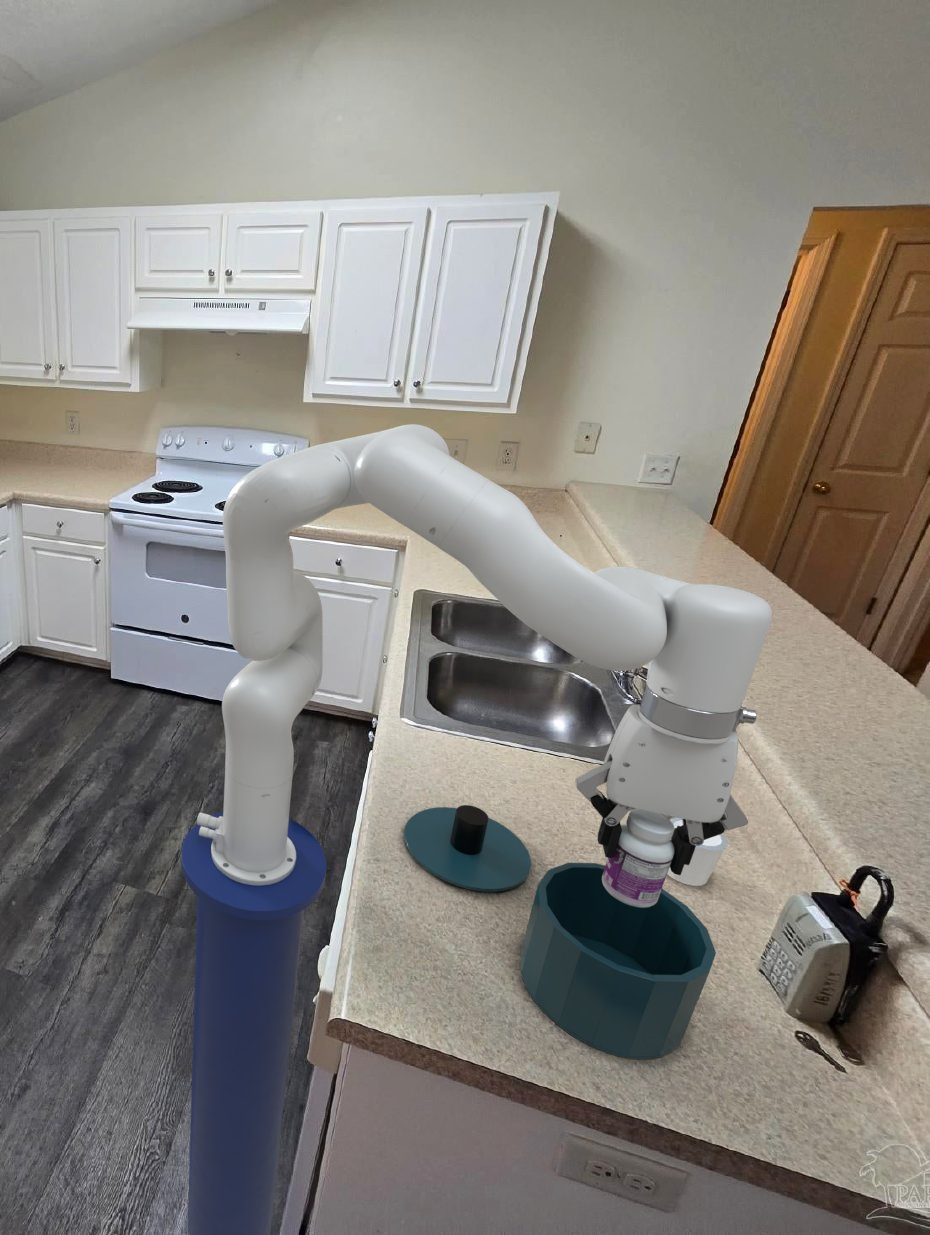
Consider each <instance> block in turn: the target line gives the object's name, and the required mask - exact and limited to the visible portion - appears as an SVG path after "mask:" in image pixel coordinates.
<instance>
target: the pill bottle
mask: <svg viewBox="0 0 930 1235" xmlns="http://www.w3.org/2000/svg"><path fill="white" fill-rule="evenodd" d="M620 825H621V828H622V833H621V836H620V839H619V842H618V846H617V849H616V852H615V855H614V858H613V857H612V858H607V857H606V862H605V864H604V865H605V869H604V872H603V876H602V883H603V886H604V887H605V889H606V890H607V891H608V892H609V894H611V895H612V896H613V897H614V898H616V899H617V900H619V901H621V902H623V903H625V904H628V905H631V906H635V907H650V906H653V905H654V904H656V903H657V901H658V898H659V895H660V893H661V890H662V889H663V886H664V884H665V881H666V878H667V876H668V875H667V873H668V870H669V867H670V865H671V862H672V859H673V856H674V846H673V843H672V842H671V840H670V839H671V838H672V834H673V831H674V826H673V824H672V822H671V821H670V819H668V818H666V817H665V816H663V815H661V814H659V813H654V812H650V811H645V810H641V809H631V810H630V811H629V812H628V816H627V819H626V822H625V823H623V824H620Z"/></svg>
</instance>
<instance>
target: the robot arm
mask: <svg viewBox="0 0 930 1235" xmlns="http://www.w3.org/2000/svg"><path fill="white" fill-rule="evenodd" d="M366 504H370V505H371V506H373V507H374V508H376V509H377V510H379V511H380V512H382V513H384V514H385V515H387V516H388V517H390V518H391V519H393V520H394V521H396V522H397V523H399V524H401V525H402V526H404V527H406V528H407V529H408V530H410V531H412V532H413V533H415V534H416V535H418V536H420V537H421V538H423V539H424V540H426V541H428V542H429V543H431V544H432V545H434V547H437V548H438V549H439V550H441V551H443V552H444V553H445V554H447V555H449V556H450V557H452V558H453V559H455V561H457V562H459V563H461V564H462V565H463V566H464V567H466V568H467V569H468V571H469V572H470V573H471V574H472V575H473V576H474V577H475V579H476V581H478V582H479V583H480V584H481V585H482V586H483V588H485V589H486V590H487V591H488V592H489V593H490V594H491V595H492V596H493V597H495V599H497V601H498V602H500V604H502V605H503V606H504V607H505V608H506V609H507V610H508V611H509V612H510V613H511V614H512V615H513V616H515V617H516V618H517V619H518V620H519V621H520V622H522V623H523V624H524V625H526V626H527V627H529V628H530V629H531V630H533V631H535V632H536V633H537V634H539V635H541V636H542V637H543V638H545V639H546V640H547V641H550V642H551V643H552V644H554V645H555V646H557V647H559V649H562V650H563V651H565V652H566V653H568V654H570V655H571V656H573V657H575V658H576V659H578V660H580V661H581V662H584V663H586V664H588V665H590V666H593V667H595V668H598V669H601V670H605V671H606V670H607V671H610V672H611V671H612V672H626V671H627V672H628V671H633V670H636V669H640V668H641V667H644V666H646V665H649V662H651V661H652V660H653V663H652V666H651V669H650V673H649V676H648V680H647V679H646V682H647V683H645V687H644V690H643V692H642V696H641V700H640V703H639V704H632V705H630V706H629V707H628V708H627V710H626V712H625V713H624V715H623V717H622V718H621V720H620V722H619V724H618V726H617V728H616V731H615V733H614V735H613V737H612V739H611V741H610V744H609V747H608V749H607V752H606V754H605V756H604V759H603V763H602V764H601V765H599V766H597V767H595V768H593V769H591V770H589V771H587V772H585V773H583V774H582V775H580V776H577V777H576V778H575V780H574V782H575V787H576V789H577V790H578V792H580V793H581V795H583V797H584V798H585V799H586V800H588V801H589V802H590V803H591V806H592V807H593V808H594V809H595V810H596V811H597V813H598V814H599V815H600V816H601V822H600V825H599V829H598V832H597V843H598V845H602V849H603V853H604V856H605V858H606V859H607V858H612V857H613V858H614V855H615V852H616V849H617V846H618V842H619V839H620V836H621V833H622V828H621V825H622V824H621V821H622V820H623V819H624V818H625V817H626V815H627V814H629V813H630V811H631V810H632V809H631V808H637V809H641V810H645V811H650V812H654V813H659V814H663V815H668V816H669V817H672V818H675V817H677V818H682V822H683V825H682V826H677V828H675V829H674V832H673V835H672V838H671V842H672V843H673V846H674V856H673V859H672V862H671V865H670V869H671V872H673V873H674V874H677V875H681V873H682V870H683V867H684V864H685V865H689V864H690V861H691V859H692V856H693V853H694V850H695V847H696V846H700V845H702V844H703V843H704V840H706V839H709V838H711V837H714V836H717V835H720V834H724V833H725V831H732V830H734V829H738V828H741V827H744V826H747V825H748V824H749V819H748V818H747V816H746V814H745V812H744V810H743V809H742V808H741V807H740V806H739V803H737V801H736V800H735V799H734V797H733V796H732V794H731V793H732V789H733V784H734V780H735V775H736V768H737V761H738V755H739V754H738V753H739V733H738V731H737V728H738V726H739V725H740V724H741V725H743V724H752V725H754V724H755V723H756V721H757V714H758V713H757V710H755V709H750V708H747V707H745V706H743V702H744V700H745V697H746V694H747V692H748V688H749V686H750V683H751V680H752V678H753V675H754V672H755V669H756V666H757V663H758V661H759V658H760V655H761V652H762V650H763V646H764V644H765V641H766V638H767V636H768V633H769V630H770V627H771V624H772V620H773V610H772V607H771V606H770V604H769V603H768V602H767V601H766V600H765V599H764V598H762V597H760V596H759V595H757V594H754V593H752V592H749V591H746V590H743V589H741V588H736V587H732V586H726V585H720V584H710V583H691V582H687V581H682V580H678V579H676V578H672V577H667V576H665V575H662V574H657V573H654V572H651V571H647V570H643V569H640V568H636V567H632V566H631V567H630V566H622V565H616V566H615V565H613V566H608V567H602V568H600V569H597V570H596V571H592V570H590V569H589V568H587V567H585V565H582V564H581V563H579V561H577V560H576V559H574V558H572V557H571V556H570V555H569V554H568V553H566V552H565V551H564V550H563V549H562V548H561V547H559V546H558V545H557V544H556V543H555V542H554V541H552V539H551V538H550V537H549V536H548V535H547V534H546V533H545V531H543V529H542V527H541V526H540V525H539V523H538V522H537V520H536V518H535V517H534V515H533V514H532V512H531V510H530V509H529V508H528V506H527V505H526V504H525V503H524V502H523V501H522V499H520V498H519V497H518V496H517V495H516V494H514V493H513V492H511V491H509V490H508V489H506V488H504V487H502V486H501V485H500V484H497V483H495V482H493V480H491V479H489V478H487V477H486V476H484V475H482V474H480V473H479V472H477V471H475V470H474V469H472V468H470V467H469V466H467V465H466V464H463V463H462V462H461V461H459V460H457V459H456V458H454V457H452V456H450V450H449V447H448V444H447V443H446V441H445V439H444V438H443V437H442V436H441V435H440V434H439V433H438V432H436V431H435V430H434V429H432V428H431V427H428V426H425V425H421V424H413V423H409V424H403V425H400V426H399V425H398V426H395V427H392V428H387V429H385V430H379V431H375V432H371V433H367V434H362V435H358V436H353V437H349V438H344V439H338V440H334V441H329V442H324V443H321V444H316V445H313V446H309V447H306V448H303V449H300V450H298V451H295V452H291V453H288V454H285V455H283V456H282V455H281V456H279V457H277V458H275V459H272V460H269V461H268V462H265V463H263V464H261V465H260V466H258V467H256V468H254V469H253V470H251V471H249V472H248V473H246V474H245V475H244V476H242V478H240V479H239V480H238V481H237V482H236V483H235V484H234V485H233V487H232V489H231V490H230V492H228V495H227V498H226V500H225V503H224V507H223V513H222V531H223V541H224V551H225V584H226V585H225V586H226V606H227V607H226V610H227V627H228V634H229V639H230V642H231V644H232V646H233V648H234V650H235V651H236V652H237V653H238V654H239V655H240V656H241V657H243V658H244V659H246V660H249V661H250V662H249V663H247V665H246V666H244V667H243V668H242V669H241V670H239V672H238V673H236V675H235V676H234V677H233V678H232V679H231V681H229V684H228V685H227V686H226V688H225V691H224V693H223V696H222V701H221V713H222V720H223V726H224V735H225V736H224V737H225V759H224V769H225V770H224V786H223V788H224V790H223V817H222V816H219V818H216V817H212V816H211V815H212V814H211V815H210V814H207V813H203V812H199V813H198V815H197V819H196V824H197V825H199V826H201V827H200V830H199V835H200V836H203V837H208V838H212V839H213V842H212V846H211V855H212V859H213V862H214V864H215V865H216V867H217V868H218V869H219V870H220V871H221V872H222V873H223V874H224V875H225V876H227V877H228V878H230V879H232V880H234V881H236V882H240V883H243V884H247V885H255V886H263V885H270V884H274V883H277V882H279V881H281V880H283V879H285V878H286V877H287V876H289V874H290V873H291V872H292V871H293V869H294V866H295V862H296V850H295V847H294V845H293V843H292V841H291V840H290V839H289V838H288V837H287V834H288V822H289V819H290V810H291V798H292V786H293V776H294V762H295V757H294V756H295V749H294V743H293V738H292V728H293V725H294V722H295V719H296V717H297V716H299V714H300V713H301V712H302V711H303V709H304V707H305V706H306V705H307V704H308V703H309V702H310V701H311V699H312V698H313V697H314V696H315V694H316V693H317V691H318V689H319V688H320V686H321V683H322V682H321V681H322V676H323V606H322V600H321V597H320V593H319V592H318V590H317V587H316V586H315V585H314V583H313V582H312V581H311V579H309V578H308V577H307V576H306V575H305V574H302V573H300V572H298V571H295V570H294V555H293V554H294V553H293V548H292V545H291V541H290V538H289V534H290V532H292V531H293V530H295V529H298V528H300V527H303V526H306V525H308V524H311V523H313V522H314V521H316V520H318V519H320V518H322V517H324V516H326V515H328V514H329V513H331V512H332V511H334V510H338V509H343V508H347V507H354V506H359V505H360V506H361V505H366ZM605 783H606V792H605V793H606V796H605V795H604V794H603V792H602V791H601V790H599V789H598V787H600V786H602V785H604V784H605ZM202 826H203V827H202ZM209 828H212V829H216V830H211V829H209Z"/></svg>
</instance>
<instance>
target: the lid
mask: <svg viewBox="0 0 930 1235" xmlns="http://www.w3.org/2000/svg"><path fill="white" fill-rule="evenodd" d="M403 837H404V843H405V845H406V848H407V850H408V852H409V853H410V855H411V856H412V858H414V860H415V861H416V862H417V863H418V864H419V865H420V866H421V867H423V868H424V869H425V870H427V871H428V872H429V873H430V874H432V875H433V876H436V877H437V878H439V879H441V880H443V881H445V882H447V883H450V884H452V885H454V886H458V887H461V888H463V889H468V890H471V891H479V892H487V893H489V892H503V891H508V890H512V889H514V888H516V887H519V886H520V885H521V884H523V883H524V882H525V881H526V880H527V878H528V877H529V875H530V872H531V869H532V860H531V856H530V855H531V854H530V853H529V850H528V849H527V847H526V846H525V844H524V842H522V840H521V839H520V838H519V837H518V836H517V835H516V834H515V833H514V832H512V831H511V830H510V829H509V828H507V827H506V826H505V825H503V824H502V823H500V822H498V821H497V820H495V819H493V818H491V817H489V816H488V814H487V813H486V812H485V811H484V810H483V809H481V808H480V807H477V806H475V805H471V804H463V805H459V806H458V807H451V806H449V807H448V806H443V807H442V806H441V807H439V806H438V807H430V808H427V809H423V810H421V811H418V812H417V813H415V814H414V815H411V817H410V818H409V819H408V820H407V822H406V824H405V827H404V830H403Z"/></svg>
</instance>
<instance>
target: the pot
mask: <svg viewBox="0 0 930 1235" xmlns="http://www.w3.org/2000/svg"><path fill="white" fill-rule="evenodd" d="M605 865H606V864H601V863H597V862H566V863H564V864H560V865H558V866H555V867H552V868H550V869H548V870H547V871H546V872H545V874H544V875H543V877H542V878H541V879H540V881H539V882H538V884H537V887H536V891H535V895H534V898H533V902H532V905H531V906H532V907H531V909H530V914H529V918H528V920H527V921H528V922H527V926H526V929H525V933H524V936H523V940H522V944H521V947H520V952H519V956H520V957H519V970H520V975H521V979H522V982H523V984H524V986H525V988H526V991H527V992H528V994H529V995H530V997H531V999H532V1000H533V1001H534V1003H535V1004H536V1005H537V1007H538V1008H539V1009H540V1010H541V1011H542V1012H543V1013H544V1014H545V1016H546V1017H548V1018H549V1019H550V1020H551V1021H552V1022H553V1023H554V1024H555V1025H557V1026H558V1027H559V1028H561V1029H562V1030H563V1031H565V1032H566V1033H568V1034H569V1035H570V1036H572V1037H573V1038H575V1039H577V1040H578V1041H580V1042H582V1043H583V1044H584V1045H587V1046H590V1047H591V1048H593V1049H596V1050H598V1051H601V1052H603V1053H606V1054H609V1055H612V1056H616V1057H618V1058H624V1059H629V1060H640V1061H643V1060H644V1061H645V1060H654V1059H659V1058H660V1059H661V1058H662V1057H665V1056H667V1055H669V1054H671V1053H672V1052H673V1051H675V1050H676V1048H678V1047H679V1046H681V1043H682V1041H683V1038H684V1036H685V1033H686V1031H687V1029H688V1026H689V1024H690V1021H691V1019H692V1016H693V1013H694V1011H695V1009H696V1007H697V1004H698V1001H699V999H700V997H701V994H702V991H703V990H704V987H705V984H706V982H707V979H708V976H709V974H710V971H711V969H712V966H713V963H714V960H715V957H716V954H717V952H716V949H715V947H714V946H715V945H714V943H713V940H712V938H711V935H710V933H709V930H708V928H707V927H706V926H705V925H704V923H702V921H701V920H700V919H699V918H698V917H697V916H696V914H695V913H694V912H693V911H692V909H690V908H689V907H688V905H686V904H685V903H683V902H682V901H681V900H679V899H678V898H676V897H675V896H674V895H672V894H671V893H670V892H668V891H666V890H665V889H664V888H662V890H661V893H660V895H659V898H658V901H657V903H656V904H654V905H653V906H650V907H635V906H631V905H628V904H625V903H623V902H621V901H619V900H617V899H616V898H614V897H613V896H612V895H611V894H609V892H608V891H607V890H606V889H605V887H604V886H603V883H602V876H603V872H604V869H605Z"/></svg>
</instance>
